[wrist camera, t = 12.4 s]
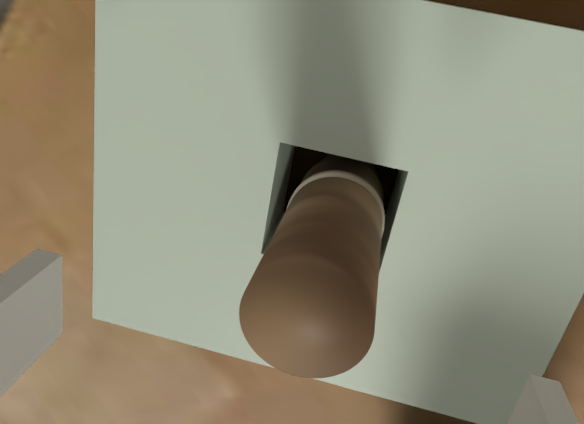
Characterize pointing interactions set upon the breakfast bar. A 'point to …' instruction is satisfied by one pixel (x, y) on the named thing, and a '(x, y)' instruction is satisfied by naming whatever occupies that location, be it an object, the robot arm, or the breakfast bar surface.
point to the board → (356, 145)
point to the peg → (320, 274)
